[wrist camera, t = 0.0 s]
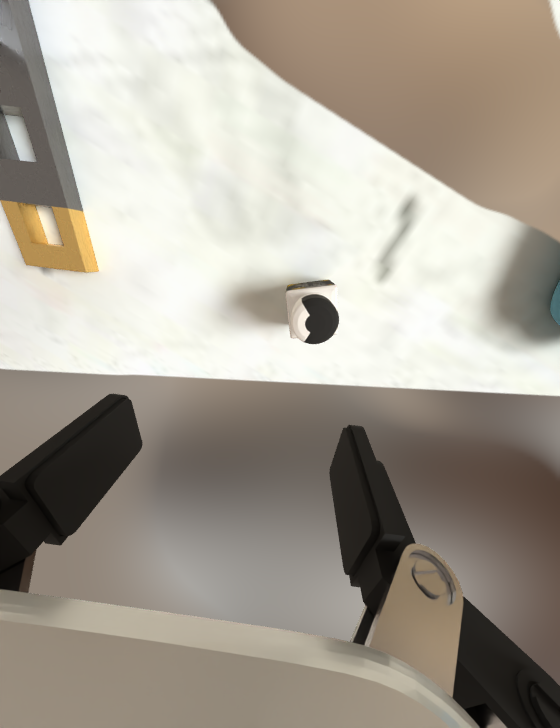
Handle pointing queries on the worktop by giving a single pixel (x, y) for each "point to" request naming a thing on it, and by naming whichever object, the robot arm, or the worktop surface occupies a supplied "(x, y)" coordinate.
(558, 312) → the casserole dish
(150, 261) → the worktop surface
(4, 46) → the rail
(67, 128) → the worktop surface
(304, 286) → the medicine bottle
